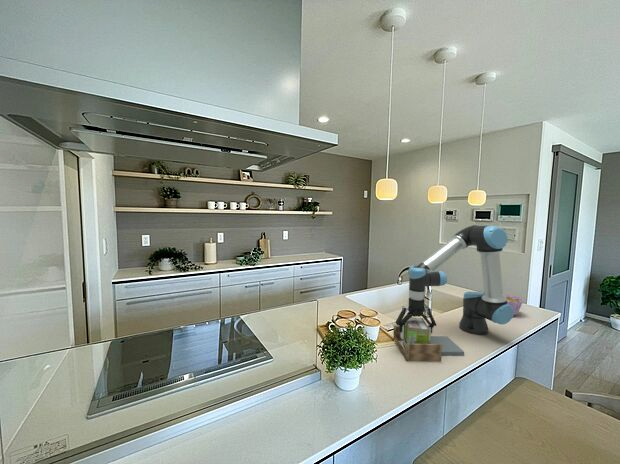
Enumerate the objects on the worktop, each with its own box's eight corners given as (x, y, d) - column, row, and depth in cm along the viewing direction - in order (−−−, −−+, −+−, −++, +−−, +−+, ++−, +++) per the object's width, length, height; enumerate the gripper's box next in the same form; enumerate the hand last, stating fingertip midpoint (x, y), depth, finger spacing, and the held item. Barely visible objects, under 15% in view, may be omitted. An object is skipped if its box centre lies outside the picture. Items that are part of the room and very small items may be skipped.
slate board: (446, 339, 146) (446, 336, 146) (464, 355, 129) (464, 351, 129) (423, 339, 146) (423, 335, 146) (437, 355, 129) (437, 351, 129)
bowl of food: (480, 310, 191) (481, 294, 191) (500, 307, 197) (501, 292, 197) (508, 320, 172) (509, 303, 172) (529, 317, 178) (530, 300, 178)
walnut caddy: (422, 339, 145) (423, 325, 145) (441, 361, 124) (442, 344, 123) (393, 339, 146) (393, 325, 145) (406, 361, 124) (407, 344, 124)
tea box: (429, 358, 126) (430, 329, 125) (407, 356, 128) (408, 327, 127) (422, 343, 141) (423, 317, 140) (403, 342, 143) (403, 315, 142)
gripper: (437, 296, 137) (436, 335, 138) (390, 295, 137) (389, 334, 138) (444, 300, 129) (443, 342, 130) (394, 300, 130) (393, 341, 131)
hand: (415, 338), depth 134 cm, fingers open, 13 cm apart
